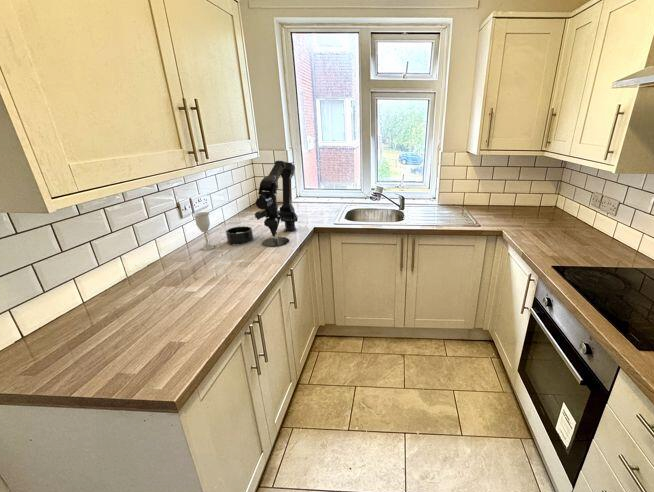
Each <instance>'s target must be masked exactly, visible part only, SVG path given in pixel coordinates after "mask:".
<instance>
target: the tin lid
mask: <svg viewBox="0 0 654 492" xmlns="http://www.w3.org/2000/svg"><path fill="white" fill-rule="evenodd" d="M289 242H290V239H289V237H285V236H278V231H276V234H275V236H272V237H269V238H266V239H264V240H262V245H263V246H264V247H269V248H275V247H276V248H277V247H282V246H285V245H287V244H289Z"/></svg>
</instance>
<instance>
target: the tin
mask: <svg viewBox="0 0 654 492" xmlns="http://www.w3.org/2000/svg"><path fill="white" fill-rule="evenodd" d="M238 232H244V233H238ZM225 234H226V239H227V244H228V245H230V246H233V245H245V244H248V243H251V242H253V241H254V234H253V228H252V227H250V226H245V225H243V226H242V225H241V226H234V227H230V228H228V229H226V230H225Z"/></svg>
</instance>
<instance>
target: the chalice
mask: <svg viewBox="0 0 654 492" xmlns="http://www.w3.org/2000/svg"><path fill="white" fill-rule="evenodd" d="M192 216H193V217H194V220H195V225H196V227H197V228H198V230H200V232H201V233H203V237H204V241H205V243H204V244H203V247H202V250H203V251H209V250H213V249H214V248H215V246H213V244H212V243H211V242H209V238H208V234H207V232H208V231H209V228H210V225H211V221H210V212H209V211H199V212H196V213H193V214H192Z"/></svg>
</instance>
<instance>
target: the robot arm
mask: <svg viewBox="0 0 654 492" xmlns="http://www.w3.org/2000/svg"><path fill="white" fill-rule="evenodd" d="M295 170H296V166H295V164H293V162H287V161H285V160H275V161H274V165H273V166H272V169H271V170H270V171H269V173H268V175H267V176H264V177H263V178H262V179H261V180H260V183H259V187H258V188H259V189H258V193H257V194H258V198H257V199H256V201H255V206H256V207H257V208H258V209H259V210H258V211H255V212H254V218H256V220H257V221H258V220H260V219H263V218H265V219H264V221H263V222H264V223H263V224H264V226H265V227H267V228H268V229H269V230H270V234H271V235H272V237H273V236H275V234H276V232H278V228H279V226H280V225H279V224H280V222H282V223H284V233H292V232H296V231H297V227H296V222H299V221H298V220H299V217H298V216H299V215H297V213H296V210H295V207H294V206H293V205H292V203H293V202H292V178H293V177H294V175H295ZM280 177H281V178H282V205H281V206H279V205H278V200H277V194H278V192H277V191H278V187H279V183H278V180H279V178H280Z"/></svg>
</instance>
